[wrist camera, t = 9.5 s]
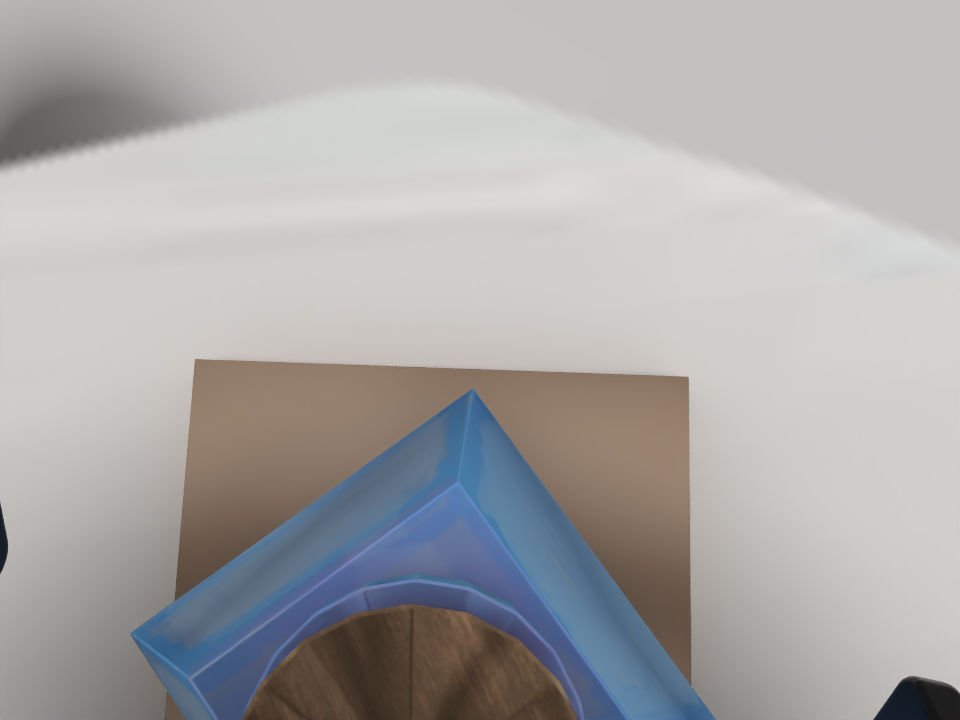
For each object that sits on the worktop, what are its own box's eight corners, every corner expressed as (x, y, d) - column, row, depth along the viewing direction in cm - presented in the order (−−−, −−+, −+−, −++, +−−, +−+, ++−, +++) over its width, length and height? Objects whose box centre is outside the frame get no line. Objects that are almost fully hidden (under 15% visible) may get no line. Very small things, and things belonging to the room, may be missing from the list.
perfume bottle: (636, 663, 20) (921, 878, 8) (398, 850, 19) (311, 1406, 7) (465, 427, 20) (488, 297, 9) (229, 598, 20) (-106, 716, 8)
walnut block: (664, 863, 21) (693, 907, 19) (184, 854, 21) (149, 898, 18) (662, 392, 23) (688, 376, 21) (221, 376, 23) (195, 359, 20)
